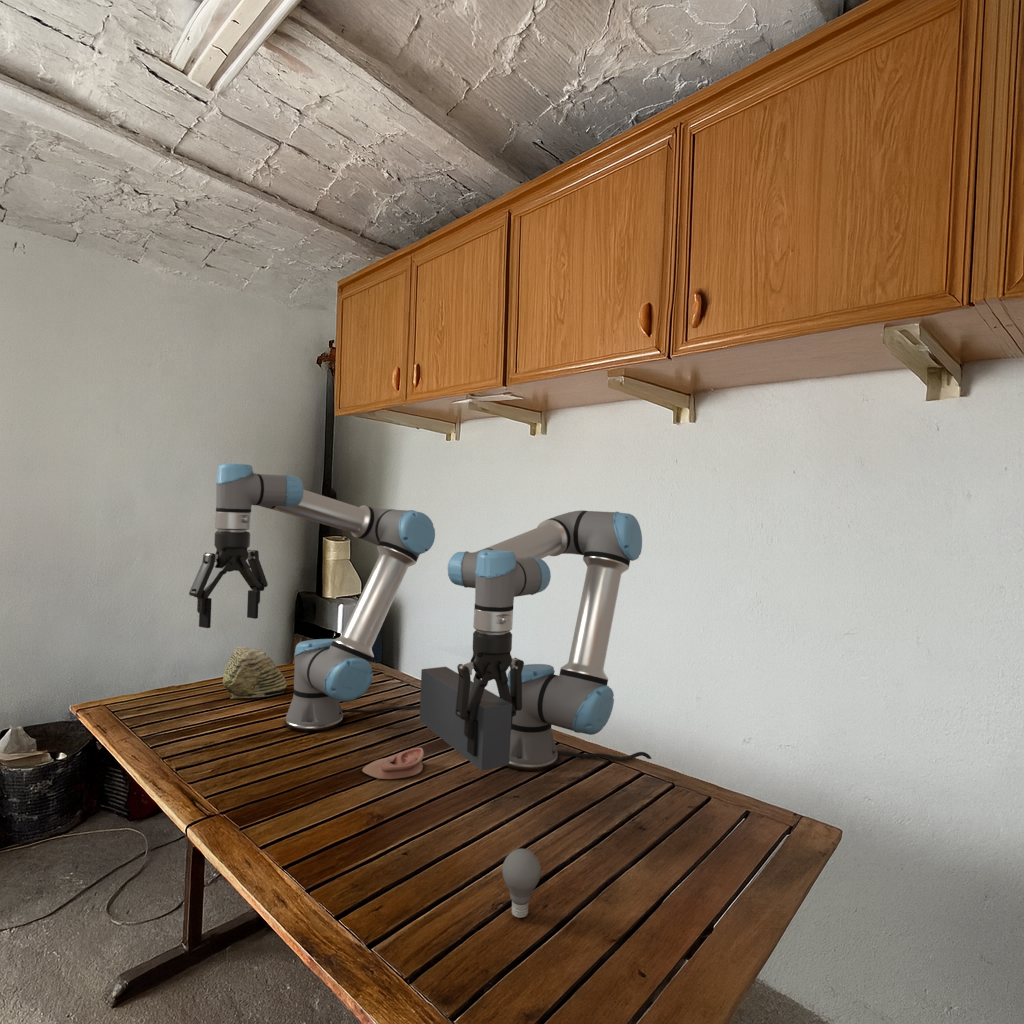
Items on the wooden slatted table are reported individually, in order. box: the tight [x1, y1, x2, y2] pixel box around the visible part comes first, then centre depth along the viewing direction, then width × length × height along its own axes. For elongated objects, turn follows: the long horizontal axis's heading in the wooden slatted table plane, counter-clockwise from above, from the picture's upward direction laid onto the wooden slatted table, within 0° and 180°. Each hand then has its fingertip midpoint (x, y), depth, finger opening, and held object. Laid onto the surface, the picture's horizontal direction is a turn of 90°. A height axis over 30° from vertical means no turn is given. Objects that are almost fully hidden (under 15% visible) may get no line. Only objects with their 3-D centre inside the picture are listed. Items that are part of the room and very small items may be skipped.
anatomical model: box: [361, 747, 425, 780], centre depth 148 cm, size 13×4×12 cm
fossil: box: [222, 646, 288, 699], centre depth 198 cm, size 9×18×15 cm, turn 132°
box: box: [419, 666, 512, 772], centre depth 131 cm, size 29×6×12 cm, turn 32°
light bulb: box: [502, 848, 542, 919], centre depth 98 cm, size 6×6×10 cm
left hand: (229, 622), depth 146 cm, fingers open, 13 cm apart
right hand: (487, 750), depth 122 cm, fingers closed on box, 6 cm apart
